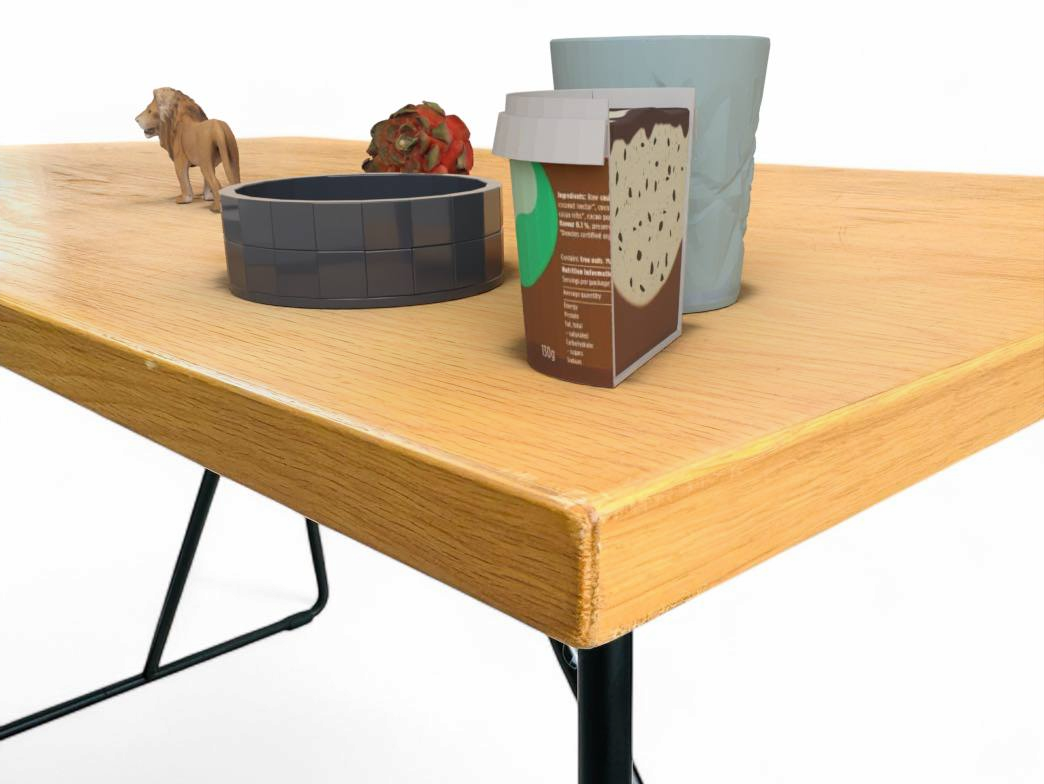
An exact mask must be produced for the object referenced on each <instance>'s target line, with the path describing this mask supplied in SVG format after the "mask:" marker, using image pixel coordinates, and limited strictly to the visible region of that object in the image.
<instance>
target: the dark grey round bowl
mask: <svg viewBox="0 0 1044 784" xmlns="http://www.w3.org/2000/svg"><path fill="white" fill-rule="evenodd" d="M503 193H504V191H503V182H502V181H499V180H496V179H493V178H491V177H484V176H476V175H457V174H442V173H438V174H437V173H365V172H363V173H362V172H354V173H353V172H352V173H351V172H350V173H329V174H327V173H326V174H310V175H297V176H296V175H295V176H284V177H276V178H267V179H266V178H265V179H258V180H252V181H251V180H250V181H246V182H241V183H240V184H234V185H228V186H225V187H223V188H222V189H220V190H219V200H220V210H219V211H220V217H221V218H220V219H221V227H222V234H223V245H224V254H225V255H224V256H225V263H226V264H225V265H226V272H227V278H228V284H229V285H228V287H229V290H230V292H231V293H232V294H233V295H234V296H236V297H238V298H241V299H242V300H247V301H250V302H254V303H260V304H265V305H272V306H280V307H289V308H290V307H291V308H304V309H330V310H331V309H332V310H333V309H337V310H338V309H351V310H352V309H376V308H377V309H379V308H393V307H408V306H417V305H426V304H433V303H441V302H447V301H454V300H459V299H463V298H468V297H473V296H476V295H479V294H482V293H486V292H488V291H490V290H491V291H492V290H493V289H494V288H497V287H499V286H500V285H502V283H503V282H504V279H505V278H504V277H505V276H504V274H505V273H504V269H505V236H504V235H505V234H504V196H503V195H504V194H503Z"/></svg>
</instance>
